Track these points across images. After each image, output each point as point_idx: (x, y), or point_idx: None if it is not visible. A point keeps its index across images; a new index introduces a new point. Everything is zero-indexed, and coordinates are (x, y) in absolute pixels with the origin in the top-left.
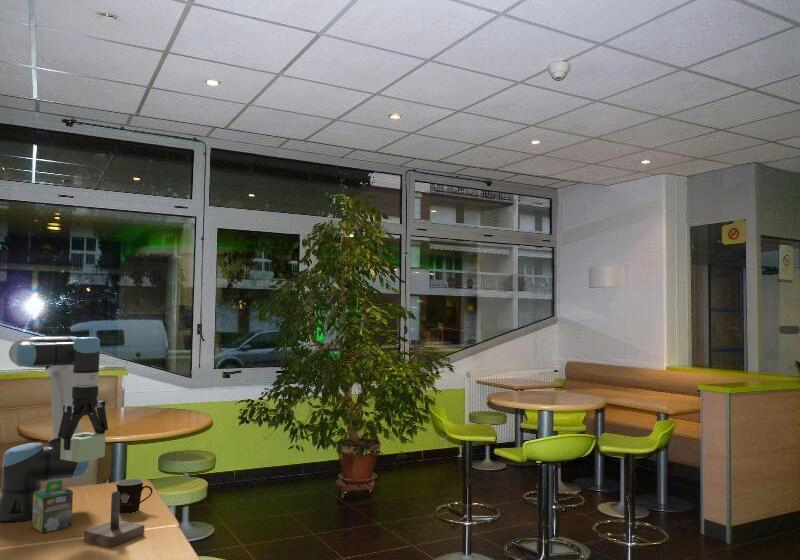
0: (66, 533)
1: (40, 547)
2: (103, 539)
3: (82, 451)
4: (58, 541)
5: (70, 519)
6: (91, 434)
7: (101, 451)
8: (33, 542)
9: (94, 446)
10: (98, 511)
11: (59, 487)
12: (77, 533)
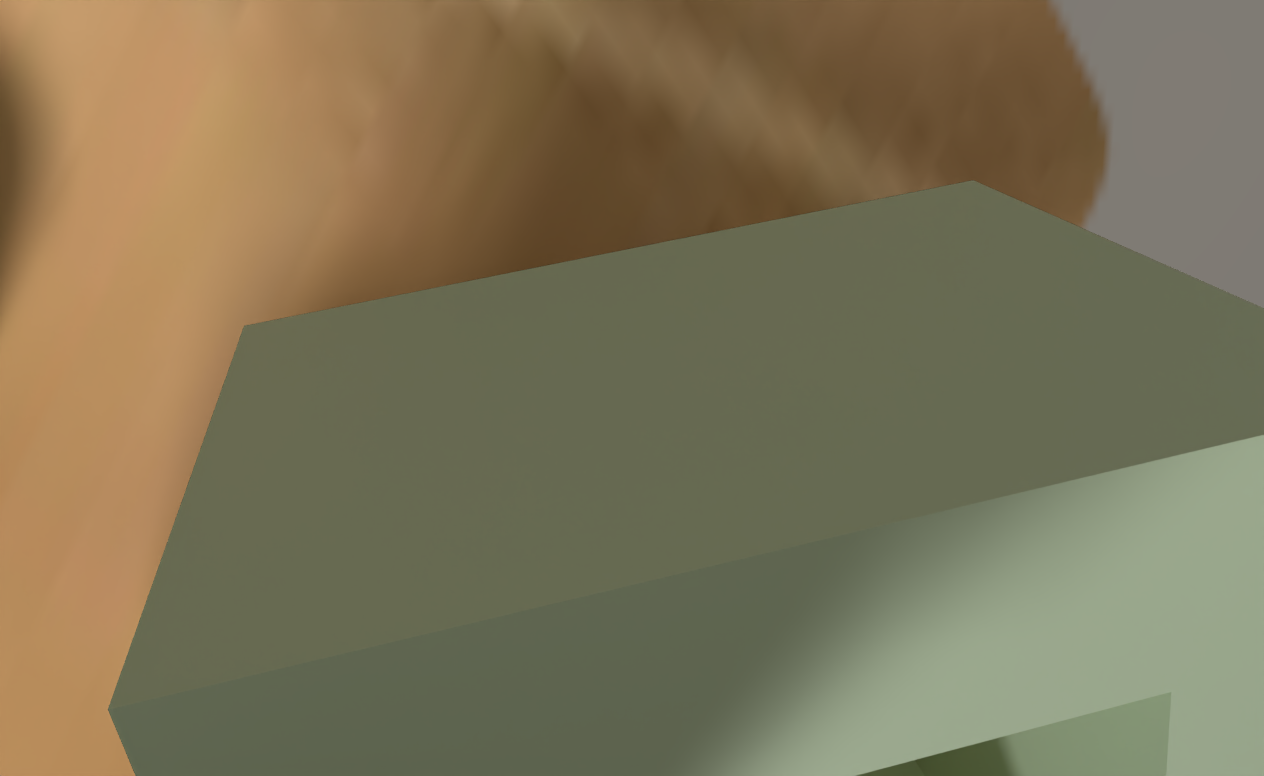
0: (606, 246)
1: (924, 68)
2: None
3: (1052, 259)
4: (760, 91)
5: None
6: None
7: (349, 358)
8: None
9: (647, 379)
10: (94, 630)
11: None
12: (545, 166)
